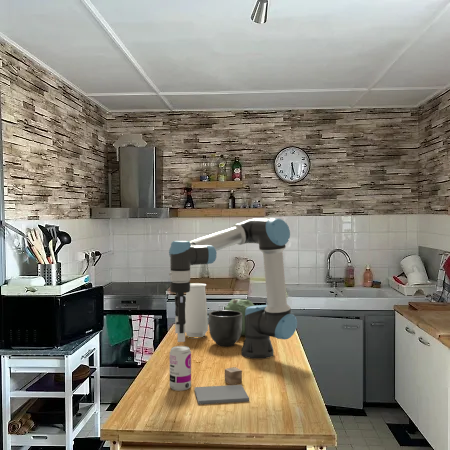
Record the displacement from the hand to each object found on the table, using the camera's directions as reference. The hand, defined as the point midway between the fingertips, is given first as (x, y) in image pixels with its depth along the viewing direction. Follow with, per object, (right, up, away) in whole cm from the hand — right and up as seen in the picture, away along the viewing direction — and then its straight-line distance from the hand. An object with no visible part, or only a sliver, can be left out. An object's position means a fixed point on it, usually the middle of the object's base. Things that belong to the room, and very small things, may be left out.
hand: (179, 337), depth 191 cm
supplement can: (0, -20, +1) cm, 20 cm away
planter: (+17, -18, +63) cm, 68 cm away
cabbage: (+26, -18, +84) cm, 90 cm away
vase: (+1, -18, +81) cm, 83 cm away
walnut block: (+20, -19, +7) cm, 29 cm away
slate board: (+16, -20, -8) cm, 26 cm away
